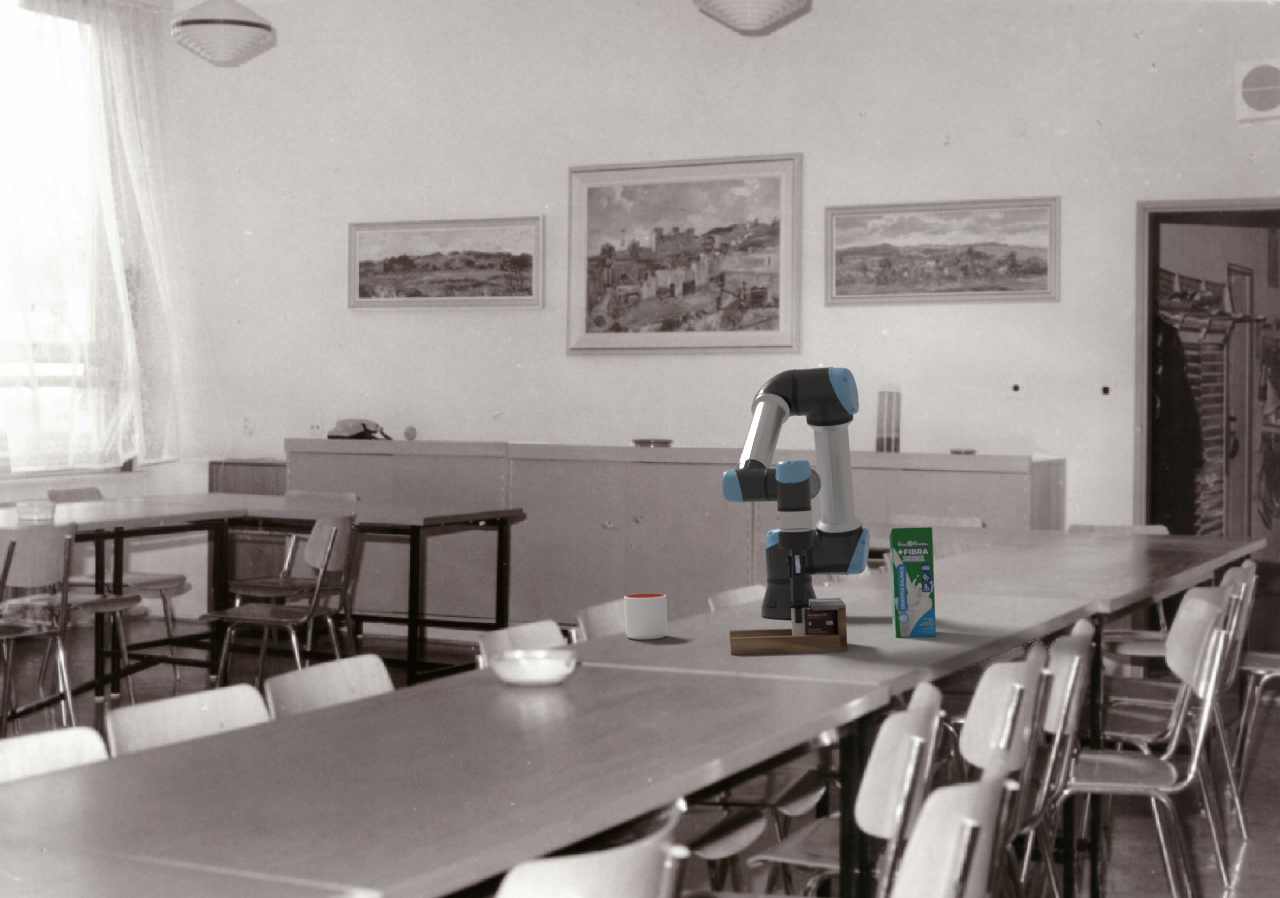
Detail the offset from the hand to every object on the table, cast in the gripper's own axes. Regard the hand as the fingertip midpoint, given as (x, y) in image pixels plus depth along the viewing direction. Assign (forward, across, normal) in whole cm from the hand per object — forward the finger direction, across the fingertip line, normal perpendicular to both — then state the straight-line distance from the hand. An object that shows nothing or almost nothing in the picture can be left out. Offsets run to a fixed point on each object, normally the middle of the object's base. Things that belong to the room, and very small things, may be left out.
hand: (798, 637), depth 318 cm
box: (+2, 0, +4) cm, 5 cm away
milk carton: (+3, -16, +27) cm, 32 cm away
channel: (+2, 0, -2) cm, 3 cm away
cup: (+3, -24, -35) cm, 42 cm away
